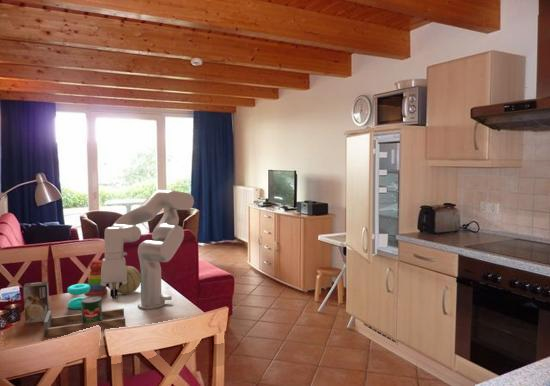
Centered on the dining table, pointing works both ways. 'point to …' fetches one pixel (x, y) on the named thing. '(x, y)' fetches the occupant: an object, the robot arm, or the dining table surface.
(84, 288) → the donuts
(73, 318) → the bay
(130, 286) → the cantaloupe
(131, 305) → the dining table surface
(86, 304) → the canned tomato
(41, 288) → the coffee box
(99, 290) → the stacking bear
